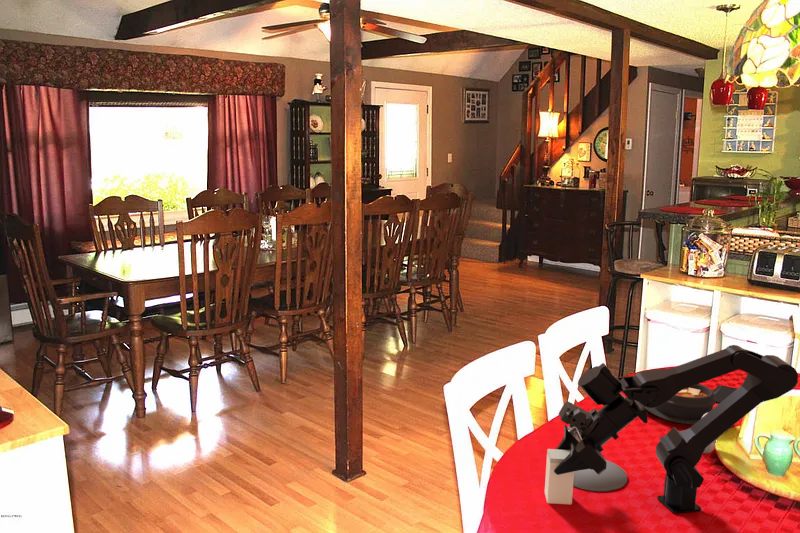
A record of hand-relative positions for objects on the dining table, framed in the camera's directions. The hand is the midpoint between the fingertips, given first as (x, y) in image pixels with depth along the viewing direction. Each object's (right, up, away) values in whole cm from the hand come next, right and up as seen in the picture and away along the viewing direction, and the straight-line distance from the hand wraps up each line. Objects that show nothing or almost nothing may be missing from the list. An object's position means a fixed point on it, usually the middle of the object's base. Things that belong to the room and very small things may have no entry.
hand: (553, 466), depth 149 cm
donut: (+43, -4, +26) cm, 50 cm away
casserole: (+45, 0, +47) cm, 65 cm away
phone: (+65, +3, +64) cm, 91 cm away
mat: (+11, -5, +12) cm, 17 cm away
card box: (+1, -7, +1) cm, 7 cm away
